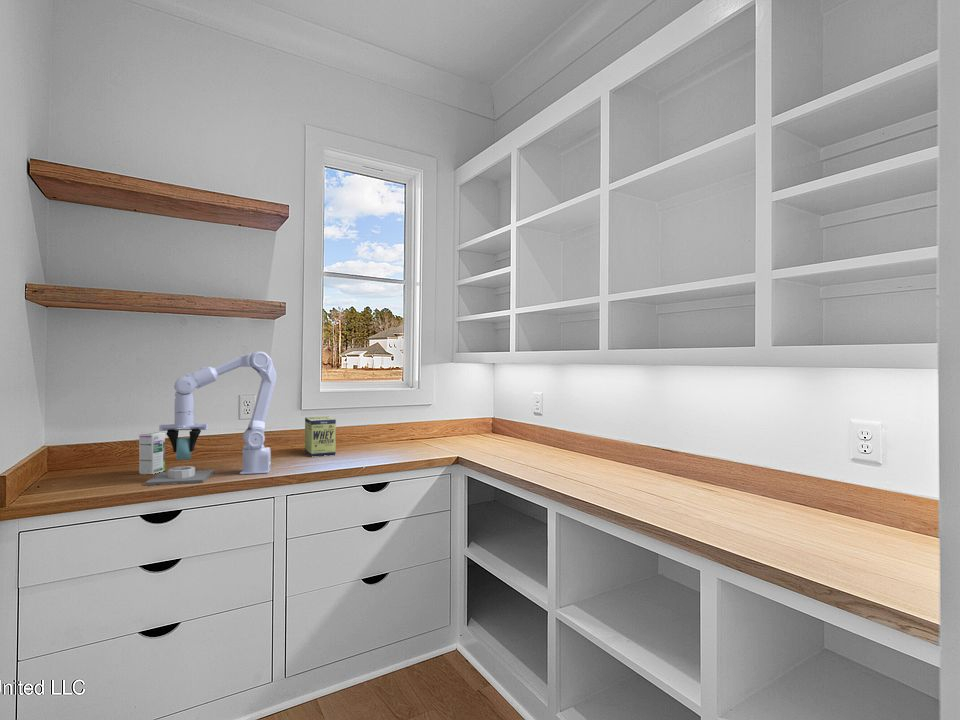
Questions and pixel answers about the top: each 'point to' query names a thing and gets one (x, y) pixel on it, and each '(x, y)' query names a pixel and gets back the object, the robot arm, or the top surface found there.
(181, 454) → the teal rounded cylinder
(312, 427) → the protein box
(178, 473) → the gray square plate
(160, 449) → the syrup box
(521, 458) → the top surface
